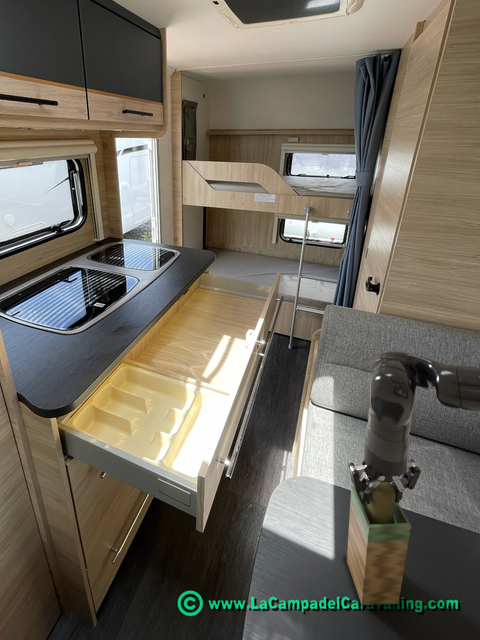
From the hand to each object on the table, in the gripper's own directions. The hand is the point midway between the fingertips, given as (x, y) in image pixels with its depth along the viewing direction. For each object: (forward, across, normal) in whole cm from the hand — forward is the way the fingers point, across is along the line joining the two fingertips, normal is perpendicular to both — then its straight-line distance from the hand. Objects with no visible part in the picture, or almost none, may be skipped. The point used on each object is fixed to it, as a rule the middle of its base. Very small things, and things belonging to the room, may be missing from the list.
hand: (380, 499), depth 71 cm
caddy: (+32, 0, 0) cm, 32 cm away
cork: (+7, 0, 0) cm, 7 cm away
